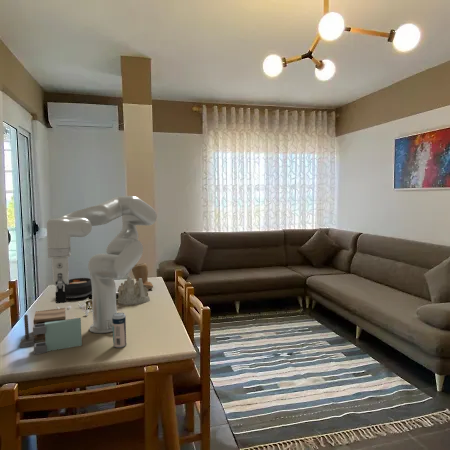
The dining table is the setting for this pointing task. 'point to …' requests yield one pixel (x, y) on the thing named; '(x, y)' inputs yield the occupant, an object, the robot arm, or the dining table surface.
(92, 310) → the game piece set
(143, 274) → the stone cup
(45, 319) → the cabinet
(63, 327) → the door
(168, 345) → the dining table surface
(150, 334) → the dining table surface
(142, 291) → the grey castle model
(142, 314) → the dining table surface
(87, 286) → the casserole
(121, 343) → the beer can
